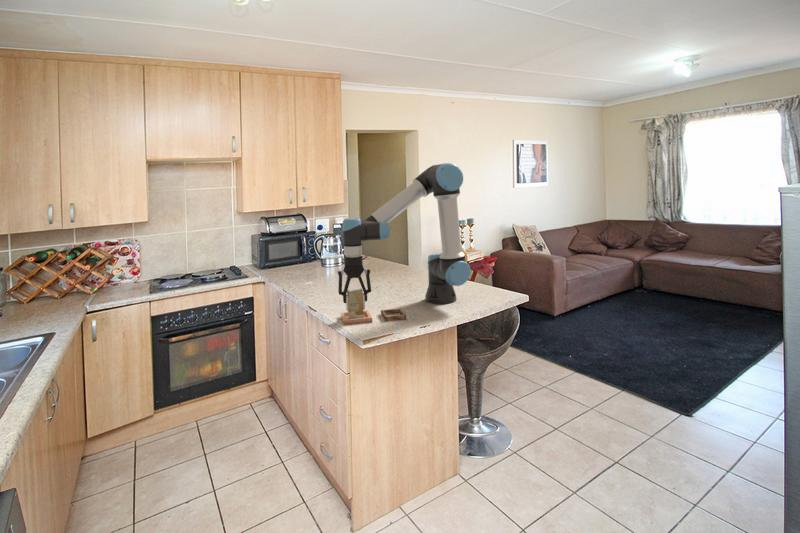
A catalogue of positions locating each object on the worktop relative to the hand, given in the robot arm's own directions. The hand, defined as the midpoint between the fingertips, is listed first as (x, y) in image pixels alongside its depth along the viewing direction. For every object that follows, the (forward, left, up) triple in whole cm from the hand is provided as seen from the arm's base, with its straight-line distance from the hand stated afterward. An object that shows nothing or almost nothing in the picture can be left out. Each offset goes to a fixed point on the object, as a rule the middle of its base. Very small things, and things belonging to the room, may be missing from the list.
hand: (355, 309), depth 184 cm
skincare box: (0, 0, -4) cm, 4 cm away
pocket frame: (-16, +1, -5) cm, 17 cm away
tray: (0, 0, -5) cm, 5 cm away
